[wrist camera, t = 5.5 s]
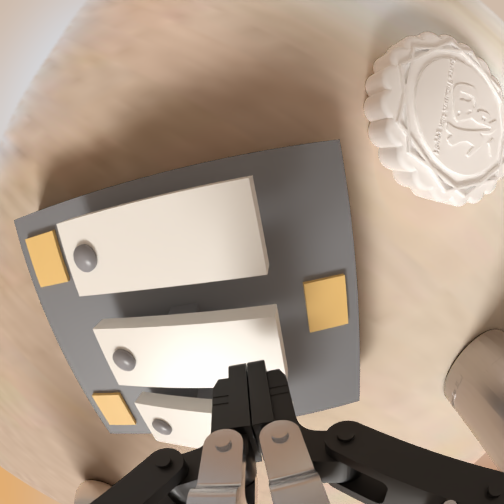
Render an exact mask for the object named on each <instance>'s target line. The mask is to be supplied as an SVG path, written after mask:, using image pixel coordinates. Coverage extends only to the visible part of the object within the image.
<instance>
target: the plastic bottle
mask: <svg viewBox="0 0 504 504" xmlns="http://www.w3.org/2000/svg"><path fill="white" fill-rule="evenodd" d="M111 487H112V486H110V485H108V484H106V483H103V482H100V481H96V480H87V481H85V482H83V483H81V484H80V486H79V487H78V489H77V490H76V495H75V502H74V504H90V503H91V502H92V501H94V500H95V499H96V498H98V497H99V496H100V495H102V494H103V493H104V492H106V491H107V490H108V489H109V488H111Z"/></svg>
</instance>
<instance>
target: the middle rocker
mask: <svg viewBox="0 0 504 504" xmlns="http://www.w3.org/2000/svg"><path fill="white" fill-rule="evenodd" d="M93 331H94V334H95V336H96V338H97V340H98V343H99V345H100V347H101V349H102V351H103V354H104V356H105V358H106V360H107V362H108V364H109V366H110V368H111V370H112V372H113V374H114V376H115V378H116V380H117V382H118V384H119V385H125V386H141V387H165V388H213V387H214V386H215V384H216V383H217V381H218V379H225V378H228V367H229V366H231V365H237V364H243V363H246V365H247V363H248V362H254V361H259V360H264V361H265V365H266V370H267V371H270V370H275V369H280V370H281V371H282V372H283V373H284V374H285V375H286V378H287V379H288V366H287V360H286V355H285V349H284V343H283V337H282V332H281V326H280V320H279V315H278V309H277V304H272V305H263V306H255V307H246V308H237V309H227V310H217V311H206V312H195V313H184V314H172V315H158V316H144V317H128V318H110V319H102V320H101V321H100V322H99V323H98V324H97V325H96V326H95V327H94V328H93Z"/></svg>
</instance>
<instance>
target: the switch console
mask: <svg viewBox="0 0 504 504" xmlns="http://www.w3.org/2000/svg"><path fill="white" fill-rule="evenodd" d="M252 175H253V180H254V185H255V191H256V196H257V201H258V206H259V211H260V217H261V222H262V227H263V233H264V238H265V243H266V249H267V254H268V260H269V269H268V274H267V275H261V276H253V277H246V278H238V279H230V280H222V281H214V282H206V283H198V284H190V285H181V286H173V287H164V288H155V289H146V290H137V291H128V292H119V293H109V294H99V295H89V296H79V294H78V291H77V288H76V285H75V283H74V280H73V277H72V274H71V271H70V268H69V265H68V262H67V259H66V255H65V252H64V249H63V246H62V242H61V239H60V235H59V232H58V228H57V224H58V223H60V222H63V221H65V220H68V219H71V218H74V217H77V216H81V215H84V214H88V213H91V212H95V211H98V210H102V209H106V208H109V207H113V206H117V205H121V204H125V203H128V202H132V201H136V200H140V199H144V198H148V197H153V196H157V195H161V194H165V193H169V192H174V191H178V190H183V189H187V188H192V187H196V186H201V185H206V184H211V183H216V182H221V181H226V180H231V179H236V178H241V177H247V176H252ZM14 222H15V226H16V230H17V234H18V237H19V241H20V244H21V247H22V251H23V254H24V257H25V260H26V263H27V266H28V269H29V272H30V275H31V278H32V281H33V284H34V286H35V289H36V292H37V294H38V297H39V300H40V302H41V305H42V307H43V310H44V312H45V314H46V317H47V319H48V321H49V324H50V326H51V328H52V331H53V333H54V335H55V337H56V339H57V341H58V343H59V346H60V348H61V350H62V352H63V354H64V356H65V358H66V360H67V362H68V364H69V366H70V367H71V369H72V371H73V373H74V375H75V377H76V379H77V380H78V382H79V384H80V386H81V388H82V389H83V391H84V393H85V394H86V396H87V398H88V400H89V401H90V403H91V405H92V406H93V408H94V409H95V411H96V413H97V414H98V416H99V417H100V419H101V420H102V422H103V423H104V425H105V427H106V428H107V429H108V431H109V432H110V433H115V434H150V433H151V431H150V430H149V428H148V426H147V424H146V423H145V421H144V419H143V418H142V416H141V414H140V412H139V410H138V409H137V407H136V405H135V403H134V402H135V401H136V400H137V398H138V397H139V396H140V394H141V393H142V392H150V393H157V394H165V395H174V396H183V397H193V398H205V399H213V388H165V387H141V386H125V385H119V384H118V382H117V380H116V378H115V376H114V374H113V372H112V370H111V368H110V366H109V364H108V362H107V360H106V358H105V356H104V354H103V351H102V349H101V347H100V345H99V343H98V340H97V338H96V336H95V334H94V331H93V328H94V327H95V326H96V325H97V324H98V323H99V322H100V321H101V320H102V319H110V318H128V317H144V316H158V315H172V314H184V313H195V312H206V311H217V310H227V309H237V308H246V307H255V306H263V305H272V304H277V309H278V315H279V320H280V326H281V332H282V337H283V343H284V349H285V355H286V360H287V366H288V379H287V382H288V386H289V390H290V394H291V398H292V401H293V406H294V411H295V415H296V416H301V415H305V414H310V413H314V412H319V411H323V410H327V409H331V408H335V407H338V406H342V405H346V404H349V403H353V402H357V401H359V396H360V340H359V311H358V292H357V277H356V263H355V252H354V241H353V231H352V222H351V214H350V205H349V198H348V190H347V183H346V176H345V170H344V163H343V157H342V151H341V145H340V139H339V140H331V141H323V142H315V143H308V144H301V145H295V146H288V147H282V148H276V149H270V150H265V151H259V152H253V153H248V154H243V155H238V156H233V157H228V158H223V159H218V160H213V161H209V162H204V163H200V164H195V165H191V166H187V167H183V168H178V169H174V170H170V171H166V172H162V173H158V174H155V175H151V176H147V177H143V178H140V179H136V180H132V181H129V182H125V183H122V184H118V185H115V186H112V187H108V188H105V189H102V190H98V191H95V192H92V193H89V194H86V195H83V196H80V197H77V198H74V199H71V200H68V201H65V202H62V203H59V204H56V205H53V206H50V207H48V208H45V209H42V210H39V211H37V212H34V213H31V214H29V215H26V216H23V217H21V218H18V219H16V220H14Z"/></svg>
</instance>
